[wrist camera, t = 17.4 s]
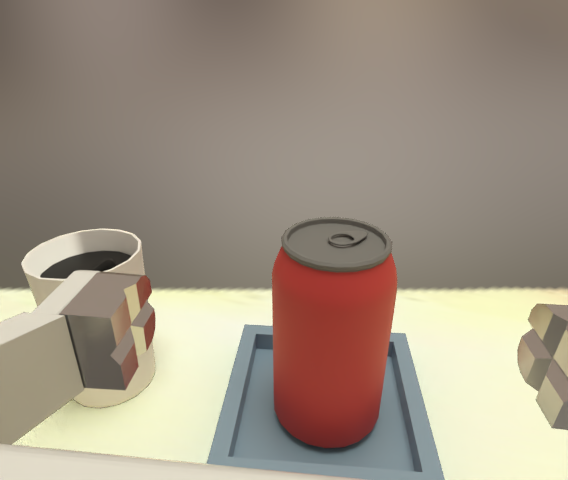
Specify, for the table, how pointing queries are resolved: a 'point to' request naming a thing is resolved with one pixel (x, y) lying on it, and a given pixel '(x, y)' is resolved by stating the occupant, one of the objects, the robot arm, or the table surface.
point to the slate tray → (316, 460)
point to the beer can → (331, 328)
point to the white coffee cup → (96, 257)
